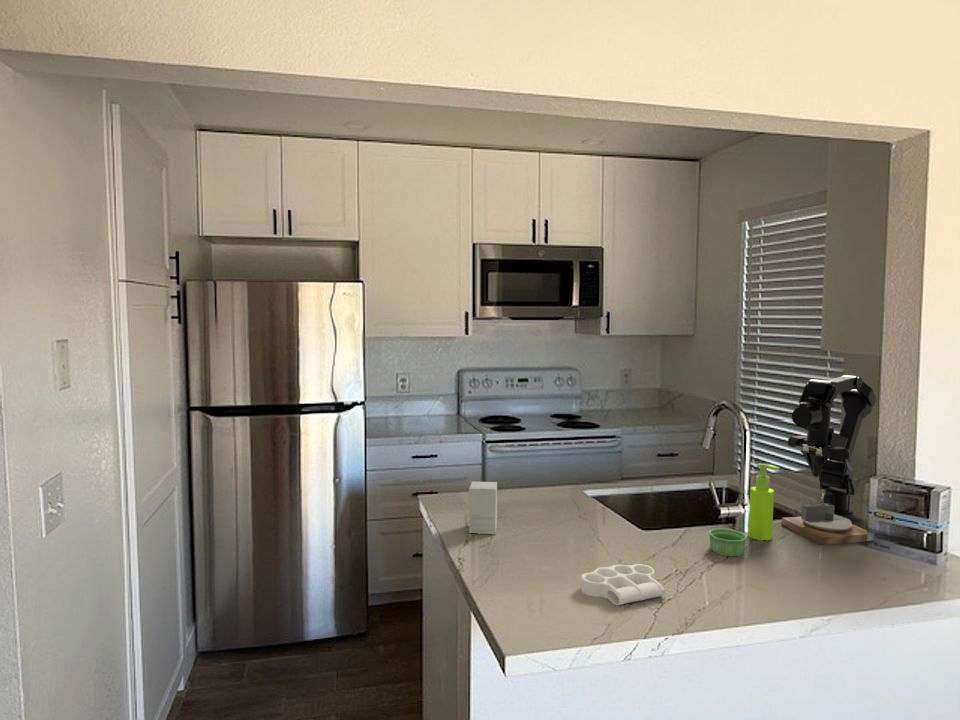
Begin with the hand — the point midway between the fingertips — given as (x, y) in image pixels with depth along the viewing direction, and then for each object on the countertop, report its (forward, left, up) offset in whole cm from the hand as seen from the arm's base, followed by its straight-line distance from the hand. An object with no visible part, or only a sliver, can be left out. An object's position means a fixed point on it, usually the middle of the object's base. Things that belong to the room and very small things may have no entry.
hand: (815, 476), depth 192 cm
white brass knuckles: (+75, +33, -14) cm, 83 cm away
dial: (+5, +10, -11) cm, 15 cm away
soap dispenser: (+24, +10, -13) cm, 29 cm away
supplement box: (+97, -9, -13) cm, 98 cm away
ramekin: (+39, +17, -13) cm, 45 cm away
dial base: (+4, +10, -13) cm, 17 cm away
